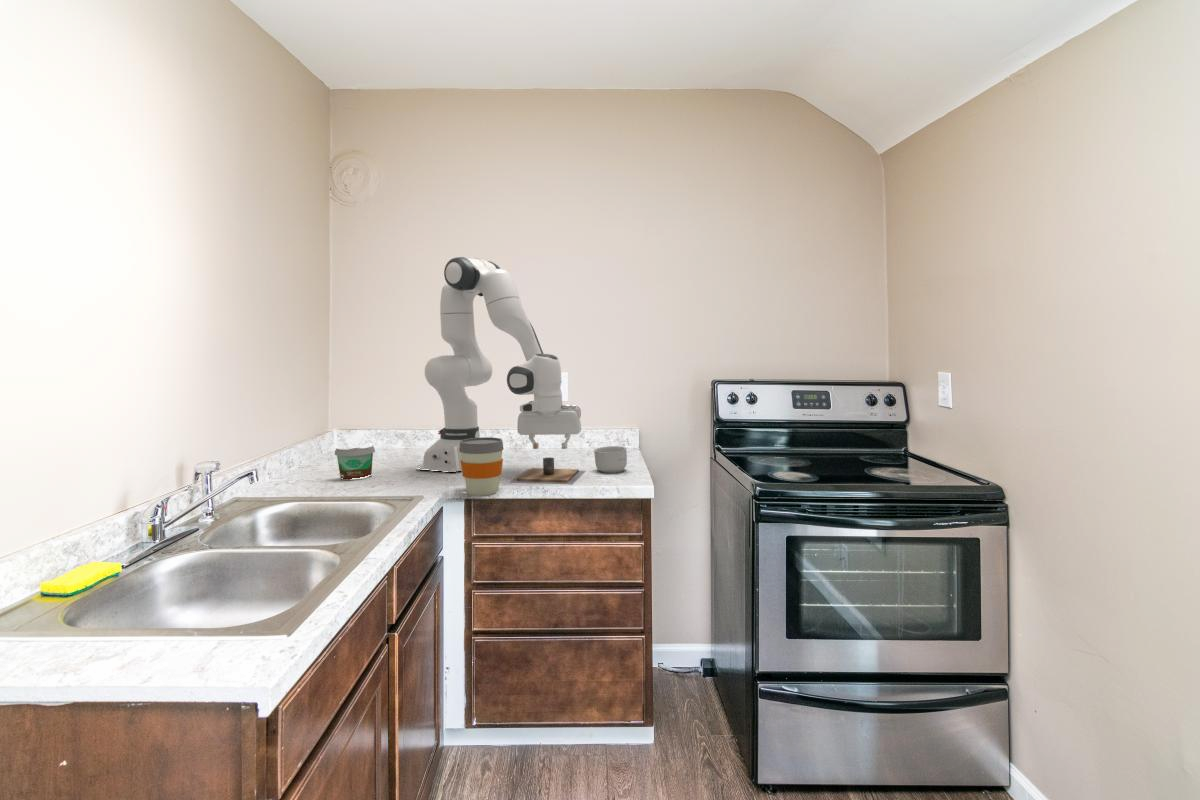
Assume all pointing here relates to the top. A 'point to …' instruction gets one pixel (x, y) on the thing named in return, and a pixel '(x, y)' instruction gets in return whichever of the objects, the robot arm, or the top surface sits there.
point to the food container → (355, 462)
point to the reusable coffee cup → (481, 464)
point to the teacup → (611, 459)
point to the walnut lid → (548, 473)
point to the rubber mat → (549, 482)
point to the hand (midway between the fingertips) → (550, 448)
